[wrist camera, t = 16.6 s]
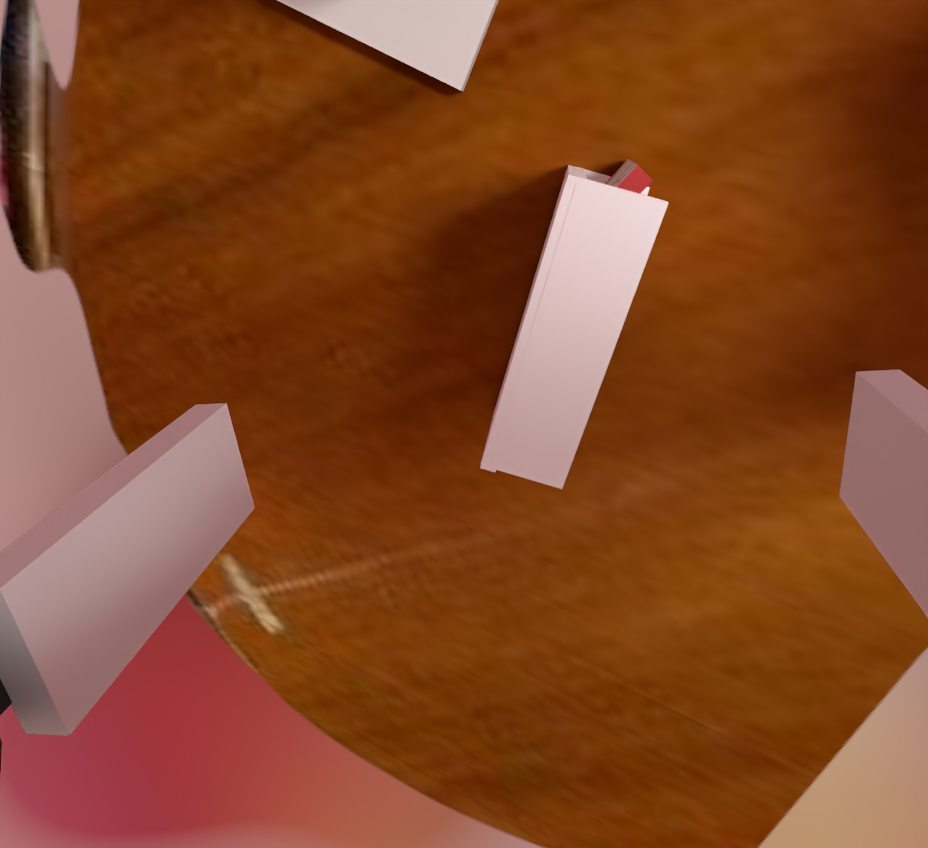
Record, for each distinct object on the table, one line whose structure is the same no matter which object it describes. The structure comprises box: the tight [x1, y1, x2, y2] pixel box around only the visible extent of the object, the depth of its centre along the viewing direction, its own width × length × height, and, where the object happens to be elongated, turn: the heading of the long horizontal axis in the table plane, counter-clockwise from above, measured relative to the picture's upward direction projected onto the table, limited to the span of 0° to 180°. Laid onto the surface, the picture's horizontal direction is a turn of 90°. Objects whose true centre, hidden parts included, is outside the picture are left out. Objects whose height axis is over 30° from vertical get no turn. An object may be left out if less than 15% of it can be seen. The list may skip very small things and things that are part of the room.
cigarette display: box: [480, 159, 669, 489], centre depth 43 cm, size 20×6×9 cm, turn 166°
